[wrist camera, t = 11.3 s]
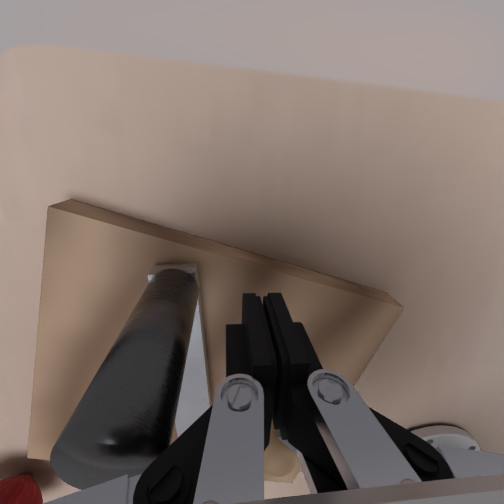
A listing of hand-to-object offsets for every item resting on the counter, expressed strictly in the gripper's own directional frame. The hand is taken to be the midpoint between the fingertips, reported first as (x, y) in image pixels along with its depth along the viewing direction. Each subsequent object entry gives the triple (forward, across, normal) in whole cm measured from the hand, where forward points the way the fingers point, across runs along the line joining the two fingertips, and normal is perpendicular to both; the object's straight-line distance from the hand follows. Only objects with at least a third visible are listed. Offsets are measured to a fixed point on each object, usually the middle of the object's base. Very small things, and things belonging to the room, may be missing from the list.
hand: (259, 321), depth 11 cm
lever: (+4, +4, +9) cm, 11 cm away
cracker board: (+6, +3, +9) cm, 11 cm away
